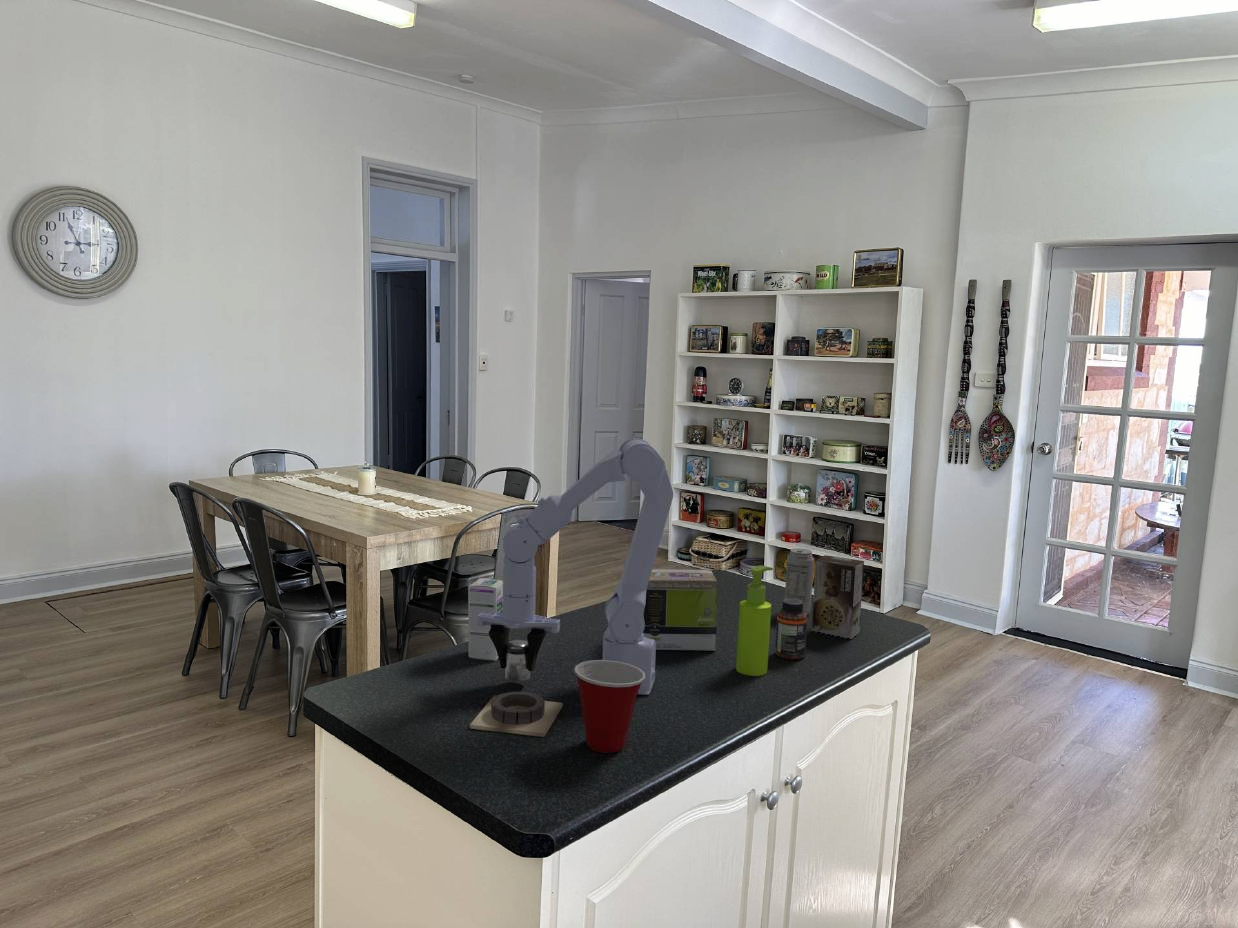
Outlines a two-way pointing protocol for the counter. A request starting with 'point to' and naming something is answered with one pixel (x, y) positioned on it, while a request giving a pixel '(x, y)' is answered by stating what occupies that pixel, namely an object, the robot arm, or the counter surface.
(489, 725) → the mount plate
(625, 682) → the plastic cup
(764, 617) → the soap dispenser
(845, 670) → the counter surface
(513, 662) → the silver capped cylinder
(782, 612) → the supplement bottle
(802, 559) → the energy drink can
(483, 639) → the syrup box
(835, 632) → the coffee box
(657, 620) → the tea box
